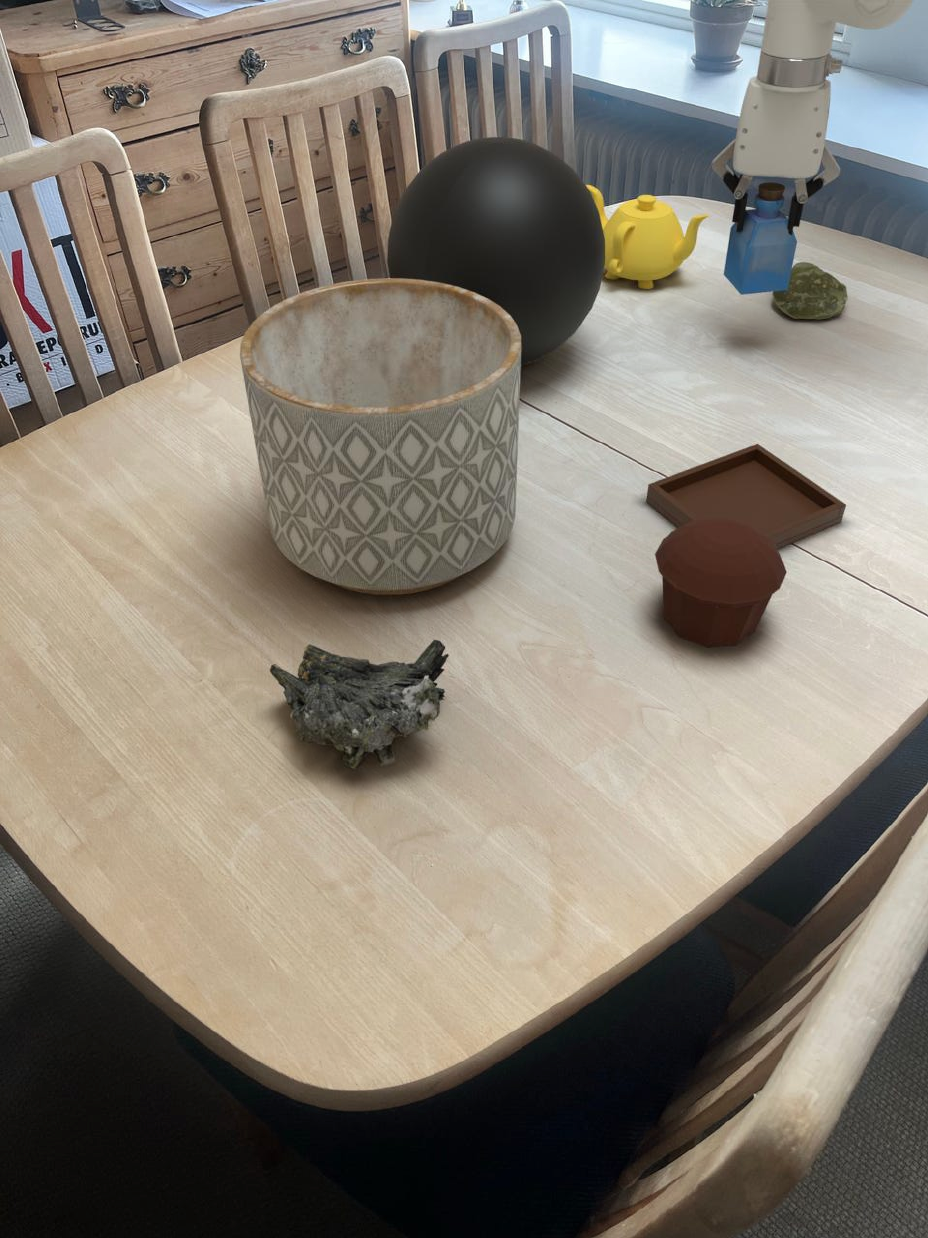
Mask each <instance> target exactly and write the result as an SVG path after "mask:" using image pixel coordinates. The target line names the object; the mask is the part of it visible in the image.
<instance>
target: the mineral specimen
mask: <svg viewBox="0 0 928 1238" xmlns="http://www.w3.org/2000/svg"><path fill="white" fill-rule="evenodd" d="M445 649H446V645H444V643H443V642H441V641H440V640H439V639H433V640H432V642H430V644H429V645H428V646H427V647H426V648H425V649H424V650H423V652H422V653H421V654H420V655H419V657H418V658H417V659H416V660H415V661H414V663H413V662H409V663H405V662H399V661H390V662H384V663H379V664H374V663H371V662H370V660H369V659H366V658H365V659H364V658H355V657H349V656H341V655H340V654H335V653H331V652H329V651H326V650H324V649H322V648H320V647H317V646H315V645H314V644H313V645H312V644H311V643H309V644H308V645H307V646H306V647H305V648H304V652H303V656H302V661H301V663H299V666H298V669H297V676H298V677H297V676H295V675H294V674H292V673H291V672H289V671H287V670H285V669H283V668H282V667H280V666H278V665H277V664H276V663H273V664H271V665H270V668H269V673H270V674H271V675H272V677H274V679H275V680H276V681H277V682H278V685H279V686H281V687H282V688H283V689H284V690H283V695H284V697H285V700H286V704H287V706H288V708H290V709H291V710H292V711H291V713H290V714H289V715H290V716H289V718H291V719H293V720H294V722H295V731H297V733H298V736H299V740H300V741H302V742H304V743H307V744H310V743H311V741H312V742H314V743H315V744H317V745H322V746H327V747H328V746H334V748H335V749H336V750H337V751H340V752H345V755H344V756H343V758H342V761H343V764H344V765H345V766H346V767H349V768H351V769H353V770H356V769H357V767H358V766H359V765H360V762H363V761H364V760H365V759H366V755H368V754H369V753H373V754H374V756H375V757H376V761H377V763H378V764H379V765H380V766H386V765H390V764H393V763H394V762H395V760H396V757H395V755H394V752H393V745H392V742H393V741H394V738H396V737H404V738H407V737H408V735H409V734H412V733H413V734H414V733H417V732H420V731H421V730H428V729H429V721H433V722H434V721H435V719H436V718H437V717H439V716H440V714H441V708H440V707H441V703H440V701H444V700H445V697H446V696H445V692H446V691H445V689H444V688H440V687H437V686H438V683H437V682H436V680H437V679H438V678H439V677H440V676H441V675H442V674H443V673H444V671H445V670H446V669H445V668H442V667H443V666H444V665H445V663H446V662H447V660H448V658H449V656H450V655H449V653H445V654H444V651H445ZM443 654H444V655H443Z"/></svg>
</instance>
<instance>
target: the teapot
mask: <svg viewBox="0 0 928 1238" xmlns="http://www.w3.org/2000/svg"><path fill="white" fill-rule="evenodd" d="M585 186H586V187H587V188H588V190H589V191H590V193H591V195H592V197H593V199H594V202H595V204H596V206H597V208H598V211H599V214H600V219H601V223H602V228H603V233H604V237H605V266H604V269H605V270H606V271H607V272H606V273H605V276H604V277H605V278H606V279H608V280H619V279H620V278H622V279H626V280H632V281H637V287H638V288H640V289H643V290H650V289H653V288H654V280H659V279H664V278H666V277H669V276H670V275H672V273H674V272H675V271H676V270H677V269H678V268H679V267H681V265H683V262H684V261H685V260H687V259H688V258H689V257H690V256H691V255H692V253H693V252H694V250H695V248H696V245H697V238H698V230H699V228H700V225H701V223H702V222H703V221H704V220H706V219H707V218H708V217H710V214H697V215H695V216H693V217H692V218H691V219H690V220H689V222H688V225H687V228H686V231H685V234H684V230H683V228H682V225H681V223H680V221H679V219H678V217H677V215H676V213H675V211H674V209H673V208H672V206H670V205H669V204H668V203H665V202H664V201H660V200H657V197H656V196H655V195H651V194H641V195H639V196H638V197H637V198H636V199H631V200H627V201H624V202H623V203H621V204H620V205H619V206H618V207H617V209H616V210H615V211H614V212H613V214H611V216H610V217H609V219H608V217H607V215H606V212H605V202H604V196H603V194H602V193H601V191H600V190H599V189H598V188H596V187H595V186H593V185H592V184H591V185H590V184H585Z"/></svg>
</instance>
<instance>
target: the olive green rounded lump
mask: <svg viewBox="0 0 928 1238" xmlns="http://www.w3.org/2000/svg"><path fill="white" fill-rule="evenodd" d="M772 297H773V300H774V303H775V304H776V305H777V308H778V309H780V310H781V312H783V313H784V314H785V315H787V316H789V317H790V318H792V319H794V320H819V321H820V320H825V319H826V320H827V319H830V318H832V317H834V316H837V315H839V314H841V312H842V311H843V310H844V308H845V305H846V303H847V302H848V297H849V296H848V292H847V286H846V285H845V284H844V283H842V282H841V281H840V280H838V278H837V277H835V276H834V275H832V274H831V273H829V272H827V271H824V270H823V269H822V268H820V267H819V266H818V265H815V264H814V263H811V262H807V261H800V262H796V263H795V264H794V265H792V270H791V275H790V280H789V285H788V290H783V291H773V292H772Z"/></svg>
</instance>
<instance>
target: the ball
mask: <svg viewBox="0 0 928 1238" xmlns="http://www.w3.org/2000/svg"><path fill="white" fill-rule="evenodd" d="M395 201H398V198H397V197H396V198H395ZM386 257H387V259H386V263H387V269H388V275H389V278H404V279H417V280H426V281H433V282H439V283H444V284H448V285H452V286H457V287H460V288H463V289H466V290H469V291H472V292H475V293H477V294H479V295H481V296H483V297H485V298H488V299H489V300H491V301H493V302H494V303H496V304H497V305H499V306H500V307H501V308H503V309H504V310H505V311H506V312H507V313H508V314H509V315H510V316H511V317H512V318H513V320H514V321H515V323H516V324H517V326H518V329H519V332H520V334H521V367H522V366H526V365H528V364H531V363H534V362H535V361H538V360H539V359H541V358H543V357H545V356H547V355H550V354H551V353H553V352H554V351H556V350H557V349H559V348H560V347H561V346H562V345H564V343H566V342H567V341H568V340H569V339H570V338H571V337H572V336H573V335H575V334H576V332H577V331H578V329H579V328H580V327H581V326H582V324H583V322H584V321H585V320H586V318H587V317H588V315H589V314H590V312H591V311H592V309H593V306H594V304H595V302H596V299H597V297H598V294H599V292H600V289H601V286H602V281H603V275H604V270H605V267H604V266H605V237H604V233H603V228H602V223H601V219H600V214H599V211H598V208H597V206H596V204H595V202H594V199H593V197H592V195H591V193H590V191H589V190H588V188H587V187H586V184H585V183H584V181H583V180H582V179H581V177H580V176H579V174H577V172H576V171H575V170H574V169H573V168H572V166H570V165H569V164H568V163H567V162H566V161H564V160H563V159H562V158H561V157H560V156H558V155H557V154H555V153H554V152H552V151H550V150H549V149H546V148H544V147H543V146H540V145H538V144H537V143H534V142H532V141H528V140H525V139H521V138H516V137H515V138H514V137H507V136H505V137H503V136H491V137H481V138H475V139H474V138H473V139H469V140H466V141H464V142H461V143H459V144H457V145H455V146H453V147H451V148H449V149H447V150H444V151H442V152H441V153H439V154H438V155H437V156H436V157H434V158H433V159H432V160H431V161H430V162H428V163H427V164H425V166H423V167H422V168H421V169H420V170H419V171H418V172H417V174H416V175H415V176H414V178H413V179H412V180H411V182H410V183H409V184H408V185H407V187H406V188H405V190H404V191H403V193H402V195H401V197H400V199H399V202H398V204H397V206H396V208H395V210H394V211H393V216H392V220H391V224H390V228H389V232H388V240H387V256H386Z"/></svg>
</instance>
